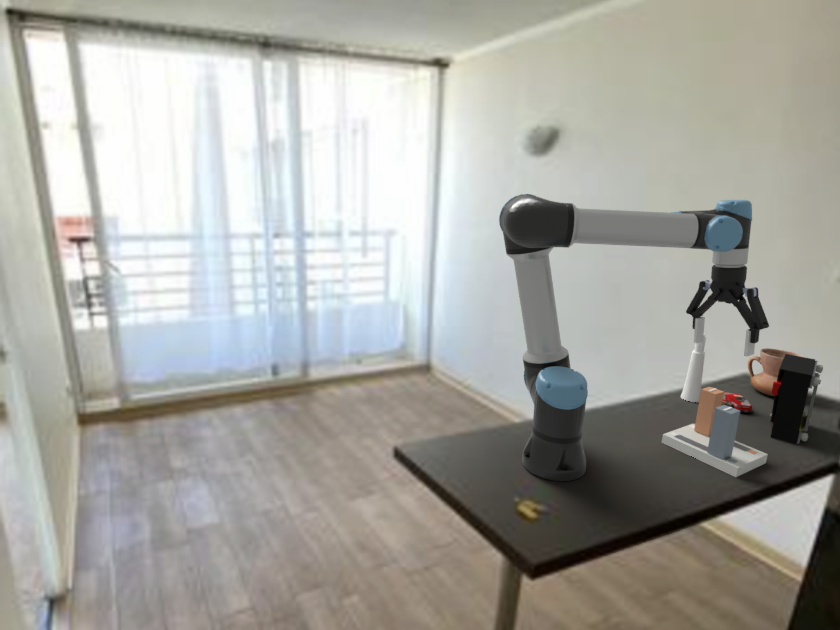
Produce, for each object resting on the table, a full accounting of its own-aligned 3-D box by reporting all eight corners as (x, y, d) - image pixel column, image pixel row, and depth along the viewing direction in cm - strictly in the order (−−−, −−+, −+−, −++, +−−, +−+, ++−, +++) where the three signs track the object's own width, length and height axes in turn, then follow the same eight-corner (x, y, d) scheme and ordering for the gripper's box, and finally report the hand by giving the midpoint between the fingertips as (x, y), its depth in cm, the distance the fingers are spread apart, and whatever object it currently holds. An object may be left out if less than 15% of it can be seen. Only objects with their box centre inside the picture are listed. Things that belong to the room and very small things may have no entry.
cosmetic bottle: (679, 399, 180) (690, 334, 174) (681, 393, 185) (692, 330, 179) (700, 404, 177) (711, 337, 171) (701, 398, 182) (713, 333, 177)
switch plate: (661, 442, 150) (662, 433, 149) (692, 431, 157) (693, 423, 157) (735, 477, 134) (737, 467, 133) (765, 463, 141) (767, 453, 140)
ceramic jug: (811, 397, 186) (819, 356, 183) (793, 405, 178) (801, 363, 175) (754, 381, 200) (760, 343, 197) (734, 388, 192) (741, 349, 189)
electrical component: (805, 446, 151) (821, 377, 146) (762, 435, 157) (776, 368, 152) (809, 425, 164) (824, 361, 159) (769, 415, 170) (782, 353, 165)
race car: (714, 397, 184) (716, 386, 183) (731, 398, 183) (733, 387, 182) (735, 414, 171) (738, 402, 170) (753, 415, 171) (756, 403, 170)
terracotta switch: (694, 430, 152) (701, 388, 149) (702, 427, 154) (709, 385, 151) (708, 436, 149) (715, 393, 145) (716, 433, 151) (724, 390, 148)
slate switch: (707, 452, 140) (715, 407, 137) (716, 448, 142) (724, 404, 139) (722, 459, 136) (731, 413, 133) (731, 455, 139) (740, 409, 136)
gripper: (792, 269, 126) (782, 358, 132) (694, 257, 148) (688, 334, 153) (772, 273, 123) (762, 364, 128) (674, 261, 145) (670, 339, 150)
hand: (722, 348), depth 141 cm, fingers open, 13 cm apart
